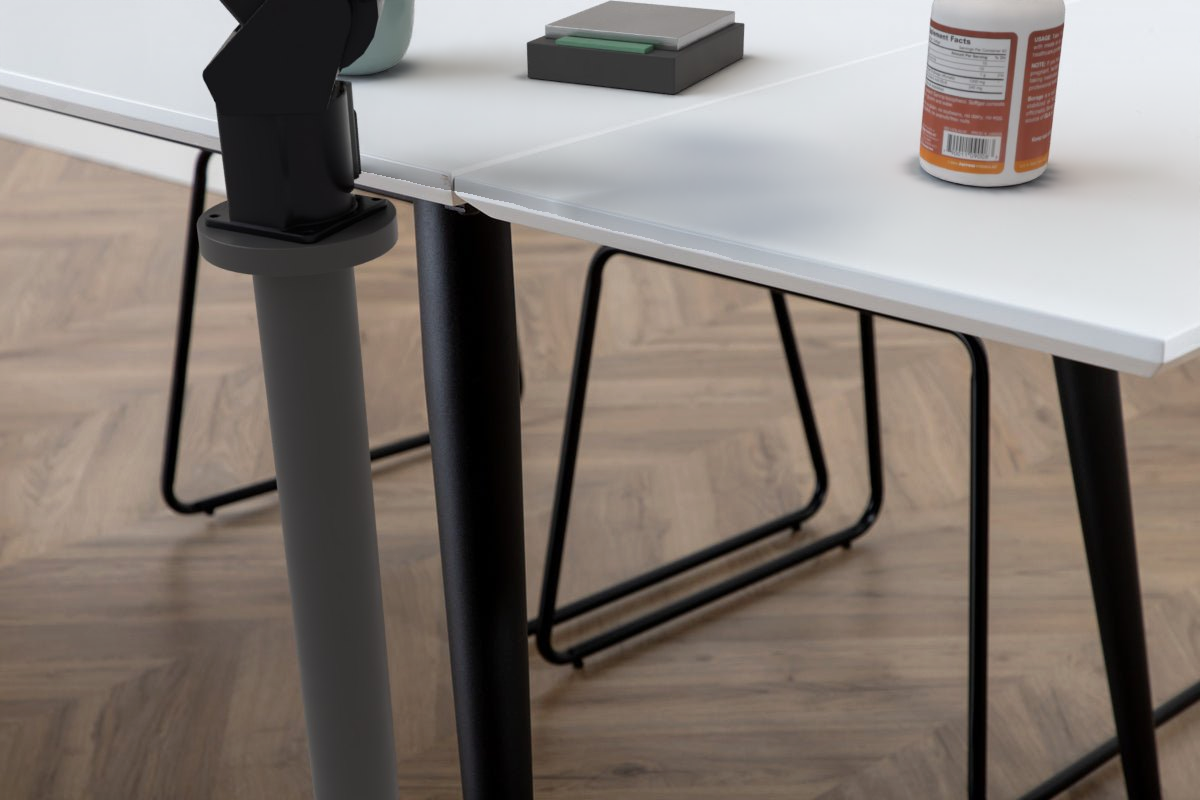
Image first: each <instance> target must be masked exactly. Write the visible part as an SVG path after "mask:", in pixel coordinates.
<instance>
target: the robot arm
mask: <svg viewBox="0 0 1200 800" xmlns="http://www.w3.org/2000/svg"><path fill="white" fill-rule="evenodd" d="M218 1H219V2H220V3H221V4H222V5H223V6H224V8H225V9H226V10H227V11H228V12H229V14H230V15H231V16H232V17H233V18H234V20H235V21H237V23H238V24H237V26H236V27H235V28H234V29H233V31H232V32H231V33H230V34H229V36H227V38H226V40H225V41H224V42H223V44H222V45H221V46H220V47H219V49H218V50H217V51H216V53H215V54H214V56H213V57H212V58H211V60H210V61H209V62H208V64H207V65H206V66H205V68H204V69H203V70H202V75H201V76H202V81H203V82H204V84H205V86H206V88H207V90H208V92H209V94H210V96H211V98H212V100H213V102H214V104H215V112H216V120H217V121H216V122H217V128H218V136H219V145H220V153H221V161H222V168H223V169H222V170H223V176H224V177H223V178H224V184H225V193H226V201H227V202H228V206H226V207H223V208H221V209H219V210H216V211H214V212H212V213H209V214H207V215H205V216H204V220H205V226H207V227H211V228H216V229H222V230H227V231H233V232H238V233H244V234H249V235H255V236H260V237H266V238H271V239H277V240H282V241H288V242H293V243H299V244H315V243H317V242H319V241H321V240H323V239H325V238H327V237H329V236H331V235H333V234H335V233H337V232H339V231H341V230H343V229H345V228H347V227H349V226H351V225H353V224H355V223H357V222H359V221H361V220H363V219H365V218H367V217H369V216H371V215H373V214H375V213H377V212H379V211H381V210H383V209H385V208H387V199H388V198H383V197H375V196H369V195H363V194H356V193H352V192H354V189H355V181H356V180H357V179H359V178H360V175H362V173H363V172H362V164H361V162H362V161H361V150H360V138H359V137H360V136H359V127H358V125H359V124H358V114H357V111H356V109H355V106H354V96H353V94H354V93H353V83H352V81H348V80H341V79H338V76H339V74H338V73H340V72H341V70H342V69H343V68H346V67H349V66H350V65H351V64H352V63H354V62H355V61H356V60H357V59H358V58H360V57H361V56H362V55H363V54H364V53H365V51H366V50H367V48H368V46H369V45H370V43H371V41H372V40H373V38H374V36H375V33H376V30H377V27H378V24H379V20H380V17H381V14H382V11H383V6H384V2H385V0H218Z"/></svg>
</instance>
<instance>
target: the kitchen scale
mask: <svg viewBox="0 0 1200 800" xmlns="http://www.w3.org/2000/svg"><path fill="white" fill-rule="evenodd" d="M735 21H736V11H734V10H726V9H725V10H723V9H715V8H714V9H712V8H704V7H703V8H702V7H692V6H691V7H690V6H679V5H667V4H656V3H646V2H645V3H644V2H634V1H633V2H632V1H621V0H608V1H604V2H603V3H600V4H597V5H595V6H592V7H590V8H586V9H584V10H582V11H579V12H577V13H574V14H570V15H569V16H566V17H563V18H560V19H558V20H556V21H552V22H550V23H548V24H545V25H544V35H542V36H540V37H536V38H534V39H532V40H530V41H527V42H526V61H527V63H526V64H527V65H526V66H527V77H528V78H530V79H537V80H545V81H555V82H565V83H571V84H572V83H573V84H580V85H589V86H598V87H608V88H615V89H623V90H624V89H625V90H632V91H641V92H651V93H659V94H666V95H676V94H677V93H679V92H681V91H683V90H684V89H686V88H688V87H690V86H692V85H694V84H696V83H697V82H699V81H702V80H703V79H705V78H707V77H709V76H710V75H713V74H714V73H717V72H718V71H720V70H722V69H723V68H726V67H727V66H729V65H731V64H733V63H735V62H736V61H738V60H740V59H742V58H743V57H744V53H745V51H744V49H745V22H735Z"/></svg>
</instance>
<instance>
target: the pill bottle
mask: <svg viewBox="0 0 1200 800" xmlns="http://www.w3.org/2000/svg"><path fill="white" fill-rule="evenodd" d="M930 9H931V10H930V18H929V29H928V30H929V31H928V33H929V34H928V44H927V55H926V65H925V77H924V78H925V81H924V91H923V92H924V93H923V102H922V104H923V105H922V106H923V107H922V115H921V125H920V128H921V129H920V138H919V154H918V155H919V156H918V157H919V158H918V159H919V165H920V166H921V167H922V169H923V170H924V171H925V172H927V173H928V174H930V175H931V176H933V177H934V178H937V179H940V180H943V181H947V182H951V183H953V184H959V185H965V186H974V187H985V188H986V187H987V188H988V187H991V188H992V187H993V188H994V187H1007V186H1013V185H1014V186H1015V185H1019V184H1024V183H1027V182H1030V181H1033V180H1035V179H1037V178H1039V177H1040V176H1041V175H1042V174H1044V173H1045V171H1046V169H1047V167H1048V161H1049V157H1050V150H1051V142H1052V141H1051V140H1052V132H1053V131H1052V130H1053V123H1054V116H1055V115H1054V114H1055V105H1056V96H1057V88H1058V82H1059V81H1058V80H1059V73H1060V64H1061V63H1060V62H1061V55H1062V46H1063V38H1064V30H1065V21H1066V20H1065V19H1066V4H1065V1H1064V0H932V3H931V8H930Z"/></svg>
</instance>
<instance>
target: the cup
mask: <svg viewBox="0 0 1200 800" xmlns="http://www.w3.org/2000/svg"><path fill="white" fill-rule="evenodd" d="M415 7H416V0H385V2H384V6H383V11H382V14H381V17H380V20H379V24H378V27H377V30H376V33H375V36H374V38H373V40H372V41H371V43H370V45H369V46H368V48H367V50H366V51H365V53H364V54H363V55H362V56H361V57H360V58H358V59H357V60H356V61H355V62H354V63H352V64H351V65H350V66H349V67H346V68H343V69H342V70H341V72H340V73H338V75H342V76H364V75H372V74H377V73H380V72H384V71H387V70H389V69H391V68H393V67H395V66H396V65H397V64H398V63H399V62H401V61H402V60H403V58H404V57H405V56H406V54H407V51H408V49H409V47H410V45H411V41H412V37H413V33H414V32H413V31H414V25H415V14H416V13H415V12H416V8H415Z"/></svg>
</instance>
